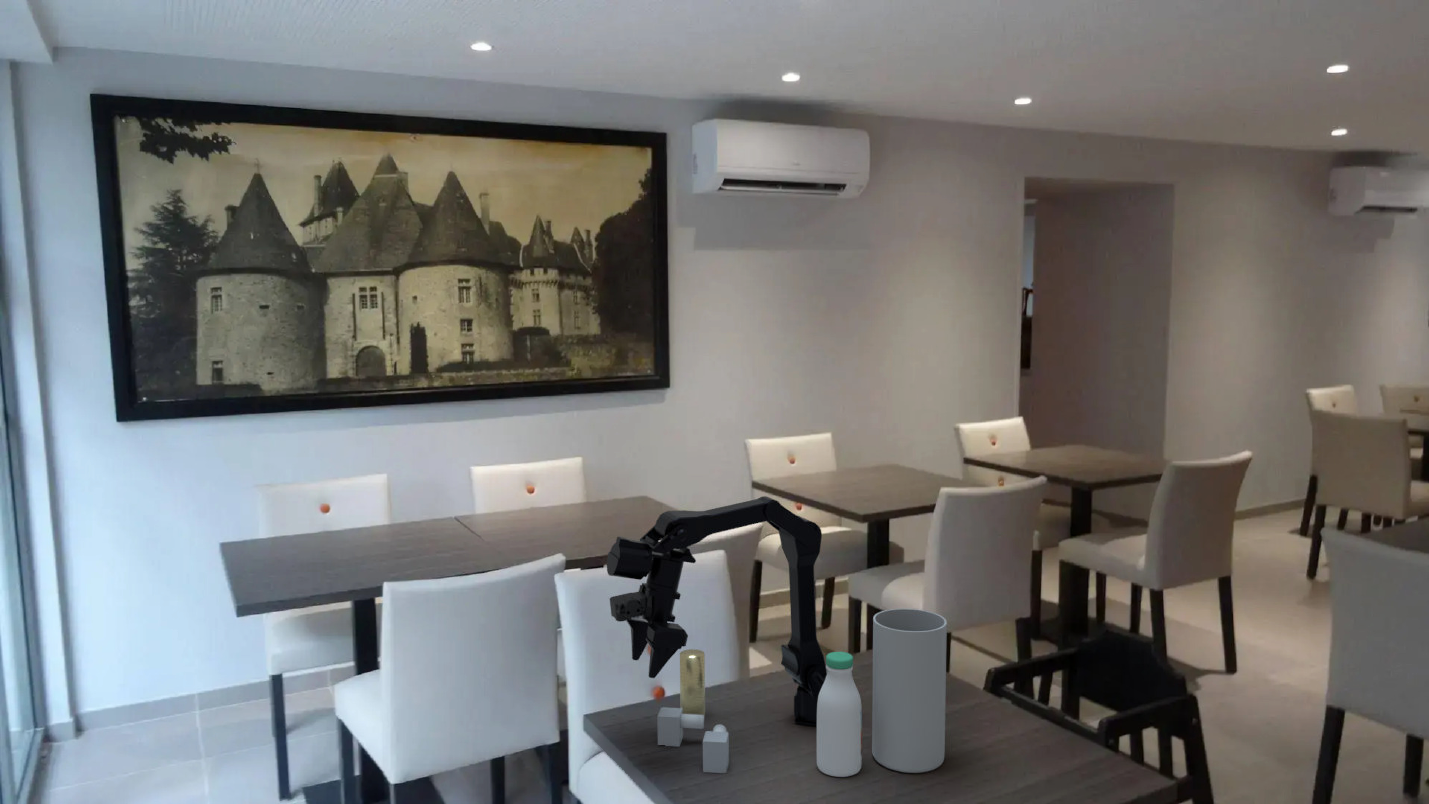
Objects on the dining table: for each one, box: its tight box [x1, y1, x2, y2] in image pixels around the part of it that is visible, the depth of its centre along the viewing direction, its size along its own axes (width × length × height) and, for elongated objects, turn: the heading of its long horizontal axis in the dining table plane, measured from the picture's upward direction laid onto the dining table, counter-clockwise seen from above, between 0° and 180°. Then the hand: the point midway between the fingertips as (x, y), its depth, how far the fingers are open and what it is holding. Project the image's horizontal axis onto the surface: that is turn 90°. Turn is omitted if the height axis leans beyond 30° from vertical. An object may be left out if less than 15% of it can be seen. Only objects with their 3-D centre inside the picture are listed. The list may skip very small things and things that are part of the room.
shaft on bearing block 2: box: [702, 724, 730, 774], centre depth 170 cm, size 8×4×6 cm, turn 173°
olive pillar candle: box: [679, 648, 706, 718], centre depth 189 cm, size 5×5×12 cm
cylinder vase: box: [871, 608, 948, 774], centre depth 170 cm, size 12×12×25 cm
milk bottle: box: [816, 651, 863, 778], centre depth 167 cm, size 8×8×20 cm
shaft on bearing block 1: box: [656, 707, 705, 748], centre depth 178 cm, size 8×4×6 cm, turn 83°
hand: (643, 668), depth 173 cm, fingers open, 9 cm apart
